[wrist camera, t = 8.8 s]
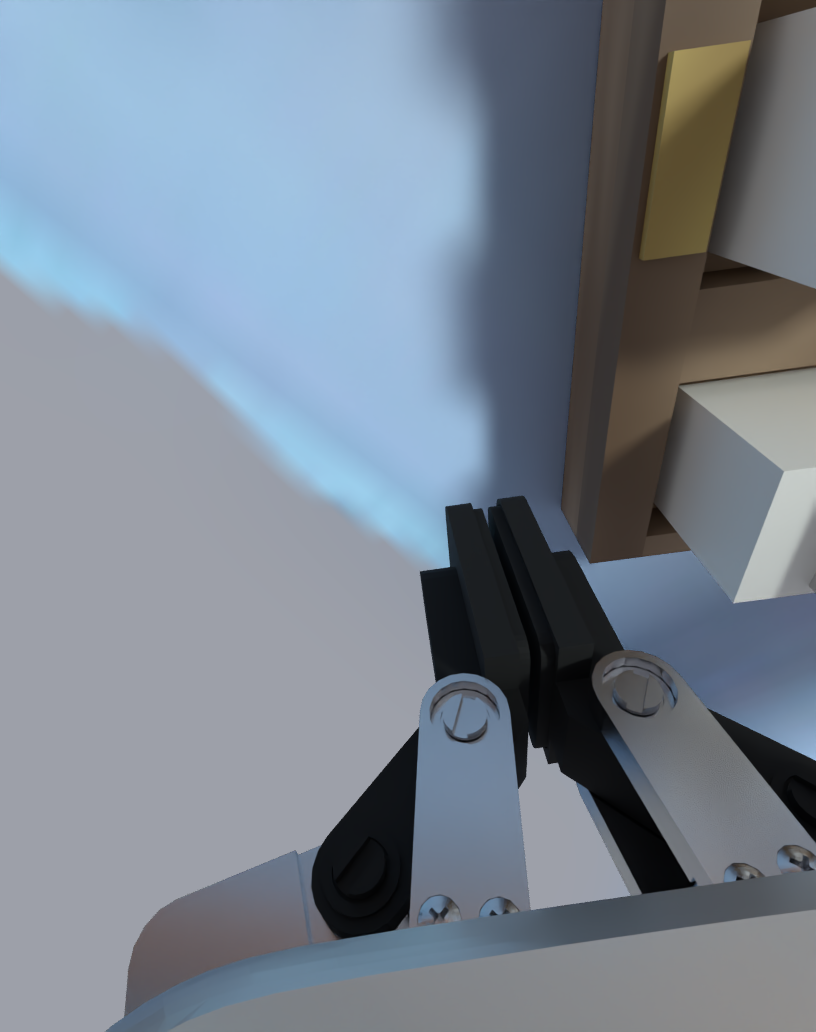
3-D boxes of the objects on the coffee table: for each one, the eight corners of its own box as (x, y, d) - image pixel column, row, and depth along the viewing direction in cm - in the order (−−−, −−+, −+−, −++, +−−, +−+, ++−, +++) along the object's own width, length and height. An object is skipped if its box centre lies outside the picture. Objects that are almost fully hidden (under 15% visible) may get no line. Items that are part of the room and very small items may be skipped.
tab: (840, 363, 13) (1050, 464, 9) (792, 482, 15) (944, 606, 11) (677, 385, 13) (814, 495, 9) (652, 501, 15) (754, 630, 11)
